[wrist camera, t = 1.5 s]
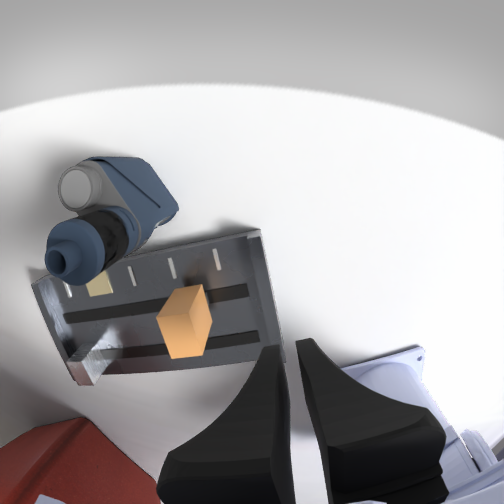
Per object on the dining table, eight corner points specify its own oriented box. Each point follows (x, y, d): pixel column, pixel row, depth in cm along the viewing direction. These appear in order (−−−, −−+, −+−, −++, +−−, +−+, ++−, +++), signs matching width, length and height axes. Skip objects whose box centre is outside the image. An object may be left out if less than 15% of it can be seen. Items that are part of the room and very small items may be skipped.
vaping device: (157, 235, 21) (58, 311, 9) (115, 174, 20) (-14, 192, 8) (187, 213, 20) (101, 273, 9) (142, 150, 19) (21, 142, 8)
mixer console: (283, 346, 23) (287, 378, 19) (83, 367, 24) (64, 393, 20) (260, 229, 20) (260, 243, 17) (45, 275, 22) (16, 293, 18)
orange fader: (214, 314, 21) (202, 355, 16) (189, 318, 21) (171, 358, 16) (204, 279, 20) (188, 312, 15) (178, 283, 20) (156, 317, 15)
